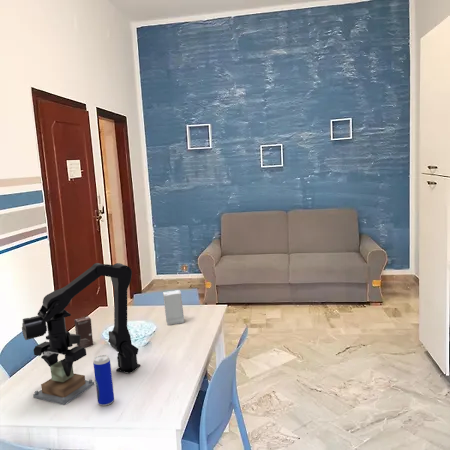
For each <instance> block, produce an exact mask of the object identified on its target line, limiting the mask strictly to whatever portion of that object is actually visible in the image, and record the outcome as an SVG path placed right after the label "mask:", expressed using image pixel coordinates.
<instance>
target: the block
mask: <svg viewBox="0 0 450 450" xmlns="http://www.w3.org/2000/svg"><path fill="white" fill-rule="evenodd" d="M61 360H62V359H60V360H58V362H57V363H55V364H53V365H51V366H50V367H49V368H50V375H51V378H52V380H54V381H58V382H64V381H66V380H68V379H69V378H71V377H72V376H74V374H75V373H74V367H73V366H74V364H73V365H72V369H71V373H70V376H68V377H67V376H66V374H65V371H64V369H63V366H62V363H61Z"/></svg>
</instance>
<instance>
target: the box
mask: <svg viewBox="0 0 450 450" xmlns="http://www.w3.org/2000/svg"><path fill="white" fill-rule="evenodd" d="M73 321H74V328H75V334H77V335H81V338H80V344H76V346H77V347H83V348H87V347H90V346H91V347H92V346H94V341H93V340H94V339H93V329H92V319H91V318H90V316H88V315H87V316H84V317H83V316H82V317H79V318H75V319H74V320H73Z"/></svg>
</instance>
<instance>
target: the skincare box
mask: <svg viewBox="0 0 450 450" xmlns="http://www.w3.org/2000/svg"><path fill="white" fill-rule="evenodd" d="M162 296H163V303H164V304H163V305H164V311H165V321H166V324H167V326H171V325H178V324H184V323H185V318H184V307H183V299H182V298H183V297H182V291H181V290H180V289H176V290H169V291H163V292H162Z"/></svg>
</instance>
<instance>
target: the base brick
mask: <svg viewBox="0 0 450 450" xmlns="http://www.w3.org/2000/svg"><path fill="white" fill-rule="evenodd" d="M85 380H86V375H84V374H79V373H74V376H72V377H71V378H69V379H68V380H66V381H64V382H58V381H54V380H52V377H51V378H50V379H47V380H45V382H43V383H41V384H40V386H41V388H40V389H41V390H42V393H45V394H49V395H54V396H58V397H66V396H68V395H69V394H71V393H72V392H74V391H75V390H77V389H78V388H80V387H81V386H83V385H84V384H86V382H85Z"/></svg>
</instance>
